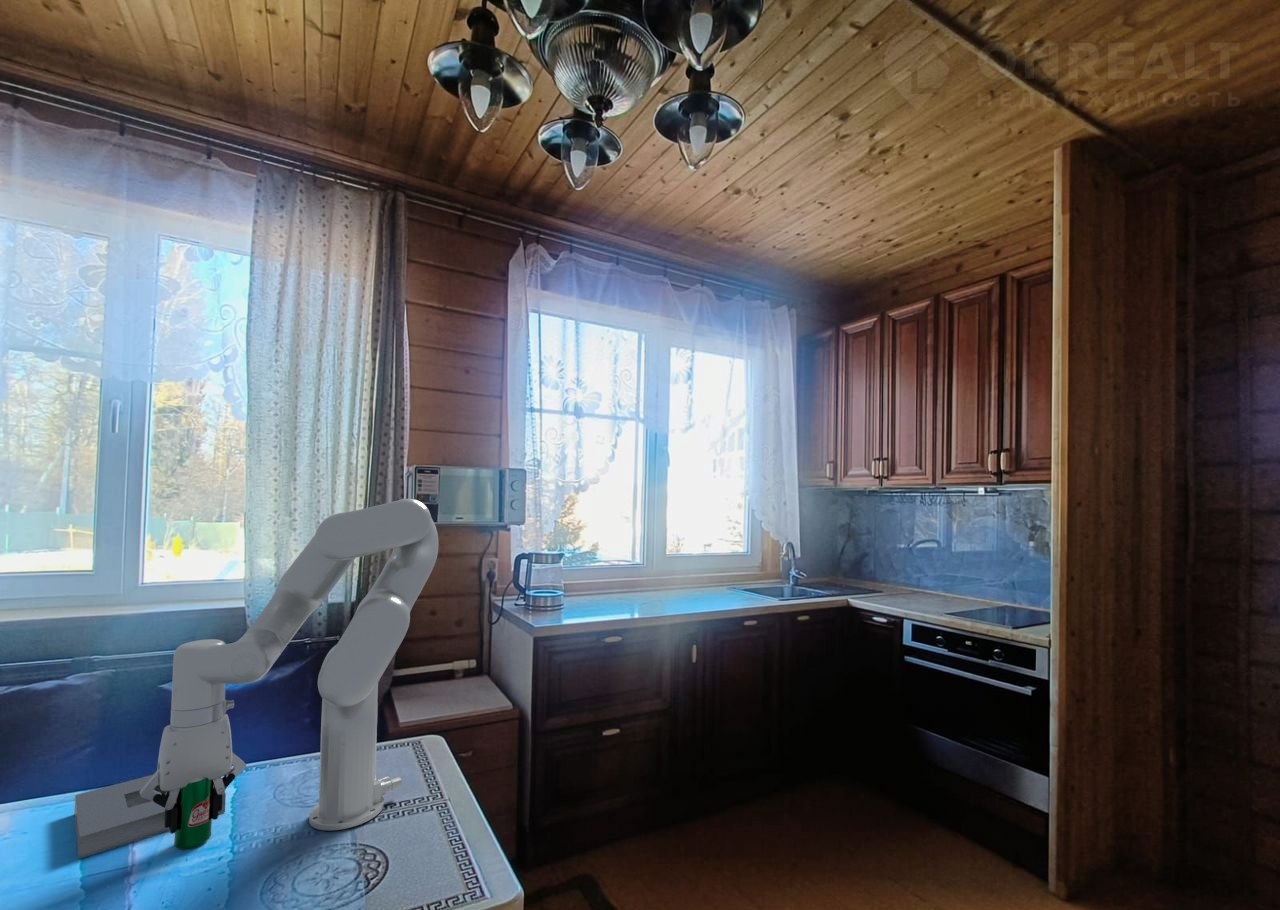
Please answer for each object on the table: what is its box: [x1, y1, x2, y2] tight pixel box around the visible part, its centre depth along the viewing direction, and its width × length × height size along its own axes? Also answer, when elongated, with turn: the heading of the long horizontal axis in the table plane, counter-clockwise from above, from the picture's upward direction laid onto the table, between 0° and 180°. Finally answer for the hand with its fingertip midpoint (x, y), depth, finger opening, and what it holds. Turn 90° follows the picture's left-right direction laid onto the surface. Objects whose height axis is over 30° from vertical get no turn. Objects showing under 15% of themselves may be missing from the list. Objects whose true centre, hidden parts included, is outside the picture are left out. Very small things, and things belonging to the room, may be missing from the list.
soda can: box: [173, 777, 213, 851], centre depth 102 cm, size 5×5×12 cm
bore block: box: [73, 773, 227, 860], centre depth 111 cm, size 20×20×4 cm
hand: (193, 822), depth 101 cm, fingers closed on soda can, 5 cm apart
